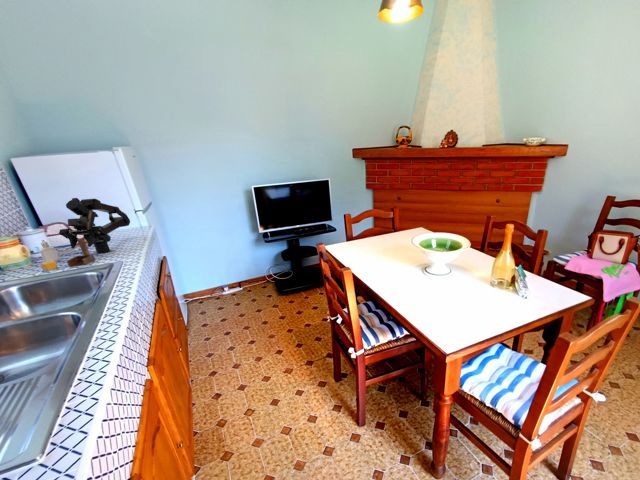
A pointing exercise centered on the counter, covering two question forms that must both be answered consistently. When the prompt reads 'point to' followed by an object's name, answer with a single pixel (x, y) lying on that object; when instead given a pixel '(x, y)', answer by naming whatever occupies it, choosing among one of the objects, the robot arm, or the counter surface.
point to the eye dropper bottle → (48, 252)
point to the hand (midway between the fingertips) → (80, 247)
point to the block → (49, 265)
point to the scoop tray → (83, 259)
